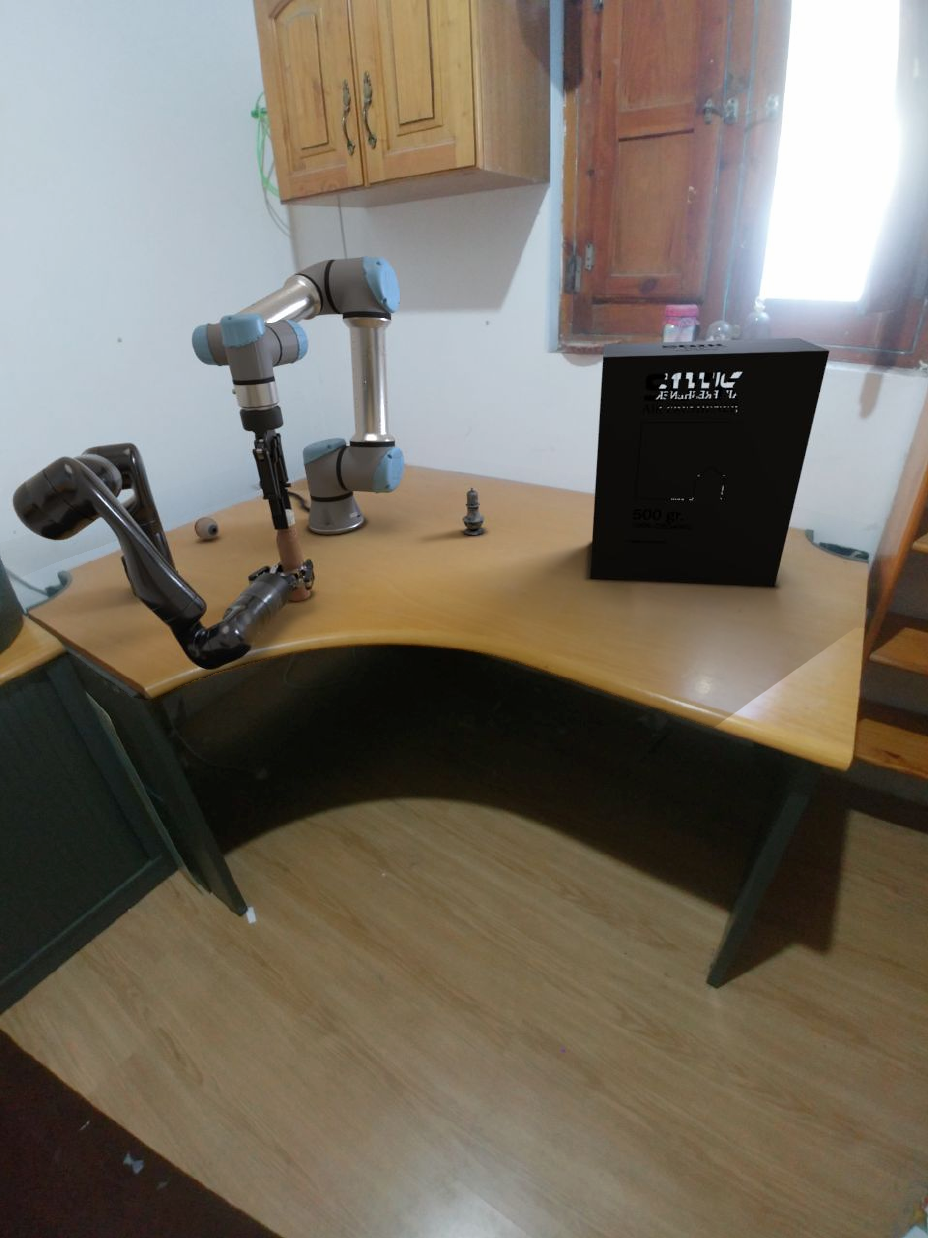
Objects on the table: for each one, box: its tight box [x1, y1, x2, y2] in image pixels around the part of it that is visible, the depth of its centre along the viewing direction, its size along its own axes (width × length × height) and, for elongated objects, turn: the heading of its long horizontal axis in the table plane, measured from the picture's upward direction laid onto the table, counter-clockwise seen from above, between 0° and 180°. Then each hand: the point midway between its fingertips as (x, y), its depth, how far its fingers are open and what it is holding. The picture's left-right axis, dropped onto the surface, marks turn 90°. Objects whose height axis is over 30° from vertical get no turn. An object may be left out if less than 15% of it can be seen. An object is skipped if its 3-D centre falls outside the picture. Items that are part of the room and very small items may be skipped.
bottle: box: [275, 525, 311, 602], centre depth 128 cm, size 5×5×19 cm
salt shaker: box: [461, 487, 485, 536], centre depth 157 cm, size 6×6×12 cm
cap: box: [270, 509, 296, 527], centre depth 124 cm, size 4×4×2 cm
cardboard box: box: [589, 337, 830, 587], centre depth 126 cm, size 38×20×45 cm, turn 78°
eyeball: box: [194, 516, 220, 541], centre depth 163 cm, size 6×6×6 cm
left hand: (298, 562), depth 132 cm, fingers closed on bottle, 4 cm apart
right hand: (284, 523), depth 124 cm, fingers closed on cap, 4 cm apart
